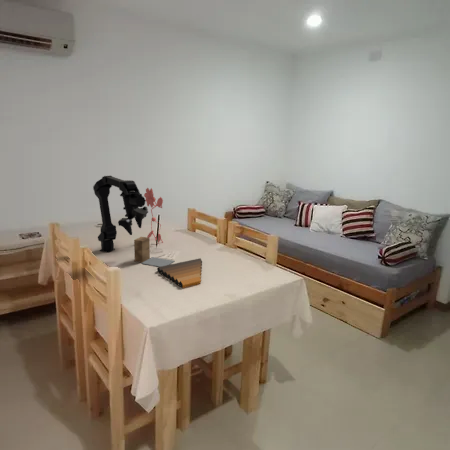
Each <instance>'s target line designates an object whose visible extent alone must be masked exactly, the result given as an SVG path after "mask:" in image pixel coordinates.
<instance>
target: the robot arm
mask: <svg viewBox="0 0 450 450" xmlns="http://www.w3.org/2000/svg"><path fill="white" fill-rule="evenodd" d="M92 187H93V188H92V189H93V192H94V195H95V196H96V197H97V199H98V203H99V209H100V214H101V215H100V216H101V221H102V222H101V223H102V224H101V227H100V233H99V234H98V236H97V240H98V242H100V249H99V252H104V253H105V252H106V253H110V252H113V251H115V250H116V248H115V242H114V240H116V239H117V235H118V234H117V233H118V231H117V226H116V225H115V224H114V223H112V216H111V210H110V204H109V203H110V202H109V195H110V193H111V191H110V189H111V188H112V187H116V188H118V190H119V191H120V192H121V193H120V194H119V196H120V197H121V198H122V200H123V204H124V205H123V210H125V213H126V214H125V215H124V217H122V218H120V219H119V220H118V222H117V224H118V226H120V227H123V228H124V230H125V231H126V232H127V233H128V235H130V236H132V235H133V229H132V226H133V219H134V220H135V222H136V224H137V227H138V228H139V229H141V228H142V226H143V225H142V224H143V219H145V218H146V217H147V214H148V213H149V209H148V206H145V204H146V201H145V200H146V198H145V196H143V193H140V189H139V188H138V186H137V184H136V182H135V181H134V180H124V179H121V178H118V177H116V176H115V177H114V176H112V175H104V176H102V177H101V179H98V180H97V181H96V182H94V184H93V186H92Z"/></svg>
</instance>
